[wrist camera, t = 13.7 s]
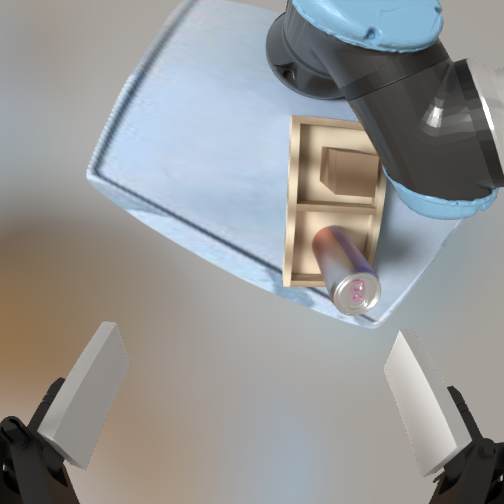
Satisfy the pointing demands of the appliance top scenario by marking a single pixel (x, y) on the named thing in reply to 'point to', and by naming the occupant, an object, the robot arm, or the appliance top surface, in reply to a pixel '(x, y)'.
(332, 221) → the rack
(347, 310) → the beverage can
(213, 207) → the appliance top surface
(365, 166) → the walnut block
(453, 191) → the robot arm
